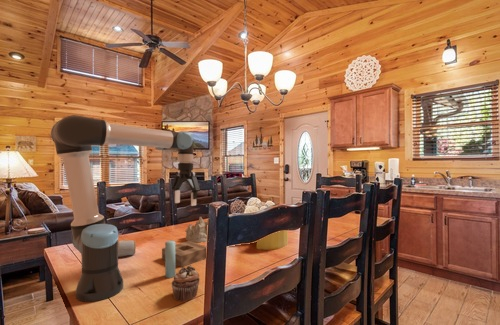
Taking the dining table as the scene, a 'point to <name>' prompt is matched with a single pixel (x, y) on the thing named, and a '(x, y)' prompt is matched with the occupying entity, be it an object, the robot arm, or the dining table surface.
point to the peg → (169, 259)
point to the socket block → (187, 253)
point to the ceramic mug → (126, 248)
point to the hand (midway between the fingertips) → (185, 204)
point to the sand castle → (197, 231)
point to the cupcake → (185, 284)
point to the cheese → (273, 241)
